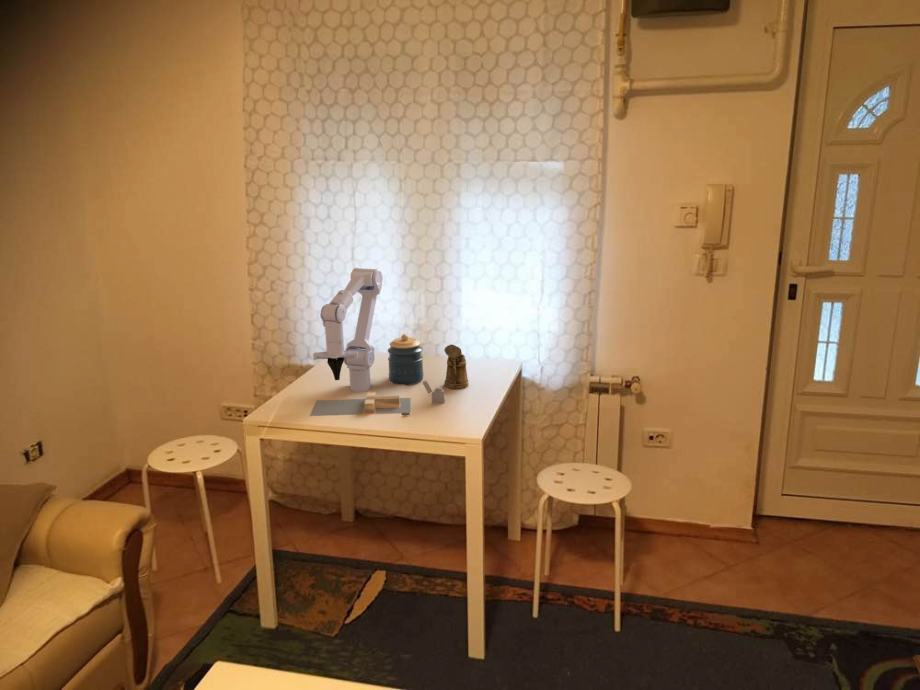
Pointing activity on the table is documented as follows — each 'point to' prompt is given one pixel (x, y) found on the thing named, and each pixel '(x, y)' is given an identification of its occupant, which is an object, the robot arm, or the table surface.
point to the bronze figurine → (455, 368)
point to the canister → (405, 361)
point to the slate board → (355, 407)
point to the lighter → (435, 394)
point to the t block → (380, 401)
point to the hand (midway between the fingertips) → (337, 379)
